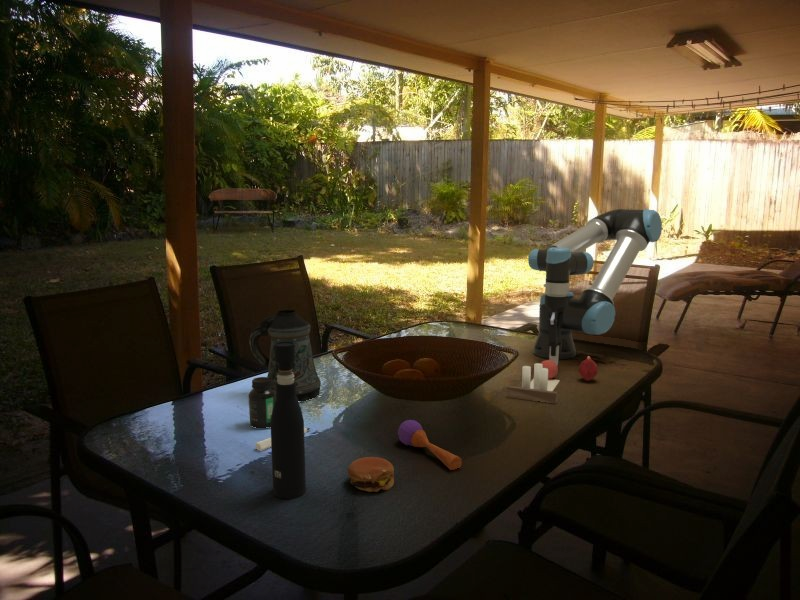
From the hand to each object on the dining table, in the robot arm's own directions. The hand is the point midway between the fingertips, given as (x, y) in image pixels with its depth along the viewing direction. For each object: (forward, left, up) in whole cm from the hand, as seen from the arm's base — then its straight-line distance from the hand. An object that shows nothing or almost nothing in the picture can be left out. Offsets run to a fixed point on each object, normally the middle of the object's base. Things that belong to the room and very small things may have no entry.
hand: (553, 364), depth 202 cm
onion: (+7, +12, -2) cm, 14 cm away
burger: (+97, -18, -3) cm, 98 cm away
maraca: (+79, -13, -3) cm, 80 cm away
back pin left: (+29, +3, -2) cm, 29 cm away
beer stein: (+58, -66, -2) cm, 88 cm away
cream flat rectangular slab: (+17, 0, -2) cm, 17 cm away
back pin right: (+29, -2, -2) cm, 29 cm away
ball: (+9, 0, +1) cm, 9 cm away
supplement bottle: (+80, -58, -2) cm, 99 cm away
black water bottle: (+107, -31, -2) cm, 111 cm away
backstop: (+32, 0, -2) cm, 32 cm away
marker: (+86, -47, -3) cm, 98 cm away
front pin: (+24, 0, -2) cm, 25 cm away
